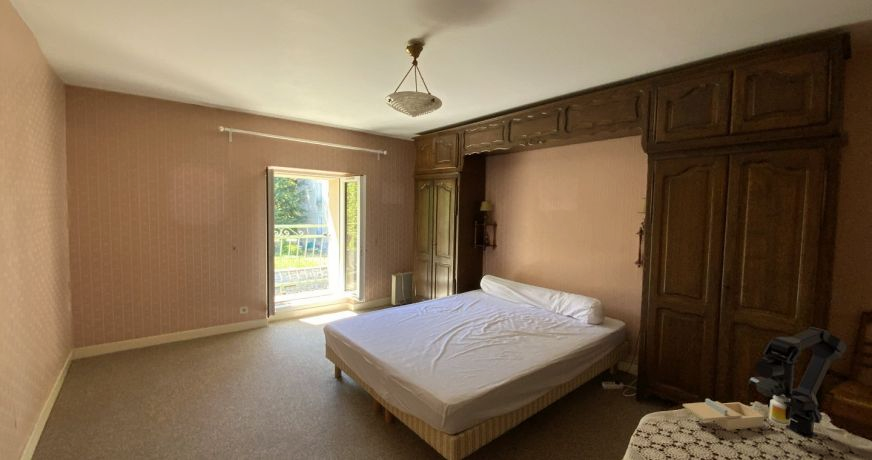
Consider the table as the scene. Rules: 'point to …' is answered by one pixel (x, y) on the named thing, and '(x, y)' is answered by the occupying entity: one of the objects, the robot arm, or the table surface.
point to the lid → (711, 410)
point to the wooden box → (746, 421)
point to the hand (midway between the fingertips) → (779, 414)
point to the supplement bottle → (778, 410)
